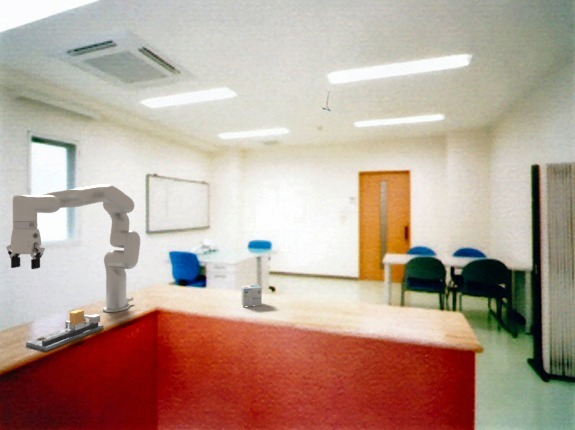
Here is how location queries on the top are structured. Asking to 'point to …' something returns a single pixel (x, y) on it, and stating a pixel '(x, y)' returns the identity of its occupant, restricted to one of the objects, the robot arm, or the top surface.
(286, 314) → the top surface
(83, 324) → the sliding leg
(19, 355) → the top surface
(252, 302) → the light bulb box
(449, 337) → the top surface
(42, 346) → the base
